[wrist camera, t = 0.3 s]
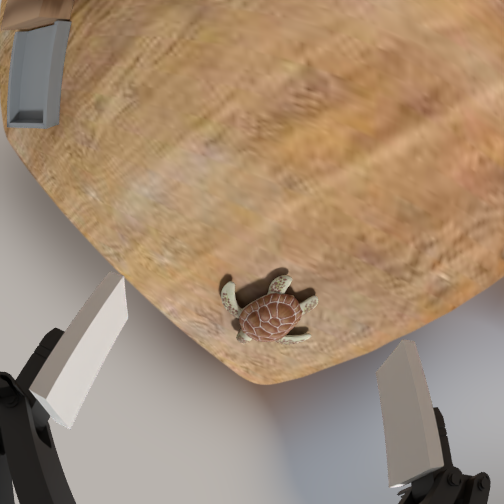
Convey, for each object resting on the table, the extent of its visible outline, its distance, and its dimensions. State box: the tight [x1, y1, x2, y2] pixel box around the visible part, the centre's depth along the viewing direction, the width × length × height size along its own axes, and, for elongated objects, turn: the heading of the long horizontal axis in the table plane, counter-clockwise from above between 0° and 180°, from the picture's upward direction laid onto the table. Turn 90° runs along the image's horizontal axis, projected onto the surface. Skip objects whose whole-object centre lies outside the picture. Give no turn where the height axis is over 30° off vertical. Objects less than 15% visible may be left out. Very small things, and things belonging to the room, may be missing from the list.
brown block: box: [1, 0, 74, 30], centre depth 21 cm, size 7×10×7 cm
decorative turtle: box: [221, 275, 318, 344], centre depth 48 cm, size 18×17×5 cm
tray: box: [7, 21, 71, 129], centre depth 29 cm, size 17×11×3 cm, turn 168°
